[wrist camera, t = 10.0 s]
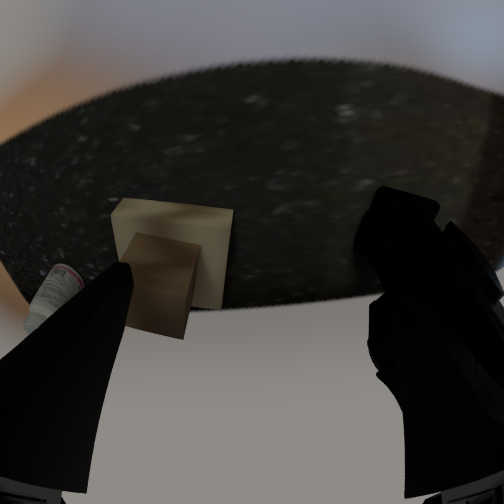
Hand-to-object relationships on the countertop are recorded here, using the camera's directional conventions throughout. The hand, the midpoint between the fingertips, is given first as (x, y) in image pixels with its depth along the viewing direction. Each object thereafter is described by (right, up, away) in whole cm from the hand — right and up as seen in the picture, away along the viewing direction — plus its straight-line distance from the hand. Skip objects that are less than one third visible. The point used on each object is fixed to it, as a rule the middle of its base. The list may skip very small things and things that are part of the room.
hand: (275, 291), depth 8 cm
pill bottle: (-22, -2, +19) cm, 29 cm away
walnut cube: (-7, 0, +13) cm, 15 cm away
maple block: (-7, +2, +16) cm, 17 cm away
